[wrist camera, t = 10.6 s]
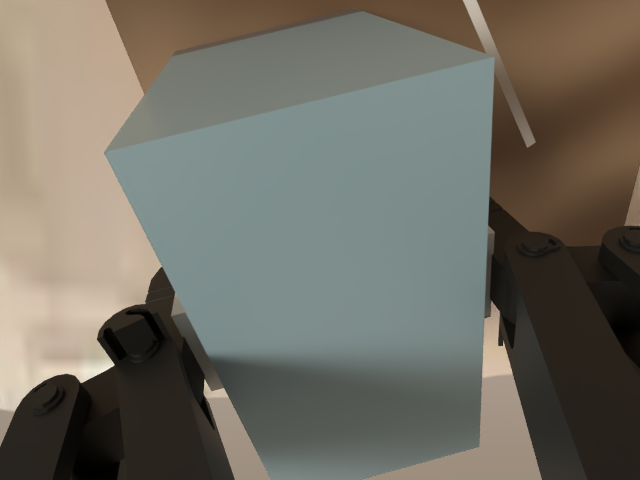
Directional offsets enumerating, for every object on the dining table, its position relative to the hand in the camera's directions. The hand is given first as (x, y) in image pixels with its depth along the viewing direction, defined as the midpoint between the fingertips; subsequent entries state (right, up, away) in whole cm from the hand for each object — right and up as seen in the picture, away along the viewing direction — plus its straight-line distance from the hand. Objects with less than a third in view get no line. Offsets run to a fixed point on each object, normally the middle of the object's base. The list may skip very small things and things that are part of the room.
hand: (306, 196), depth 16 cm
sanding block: (0, +1, +1) cm, 1 cm away
